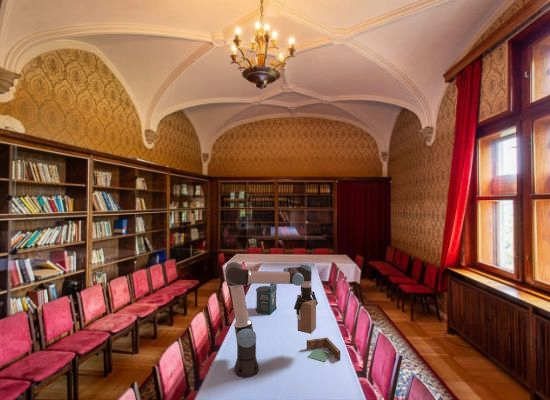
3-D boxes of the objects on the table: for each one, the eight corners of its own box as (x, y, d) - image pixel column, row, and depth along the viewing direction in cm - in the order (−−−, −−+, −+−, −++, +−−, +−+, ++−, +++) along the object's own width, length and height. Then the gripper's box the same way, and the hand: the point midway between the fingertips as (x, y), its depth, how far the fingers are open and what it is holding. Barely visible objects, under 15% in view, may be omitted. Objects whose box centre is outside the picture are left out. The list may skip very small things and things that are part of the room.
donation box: (270, 315, 273) (270, 284, 272) (254, 312, 279) (254, 282, 278) (276, 308, 288) (276, 279, 287) (261, 306, 294) (261, 278, 293)
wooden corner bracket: (318, 363, 194) (318, 354, 194) (306, 348, 213) (306, 340, 213) (340, 360, 199) (340, 351, 198) (327, 345, 218) (327, 337, 218)
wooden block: (303, 325, 214) (302, 297, 213) (316, 328, 209) (316, 299, 209) (297, 331, 205) (297, 302, 204) (311, 334, 200) (311, 304, 200)
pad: (324, 362, 196) (324, 361, 196) (307, 357, 202) (307, 356, 202) (330, 353, 207) (330, 353, 207) (314, 349, 212) (314, 348, 212)
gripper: (295, 290, 197) (295, 323, 197) (322, 284, 211) (322, 314, 211) (288, 288, 203) (288, 319, 203) (315, 281, 217) (315, 311, 217)
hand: (306, 316), depth 207 cm, fingers closed on wooden block, 13 cm apart
